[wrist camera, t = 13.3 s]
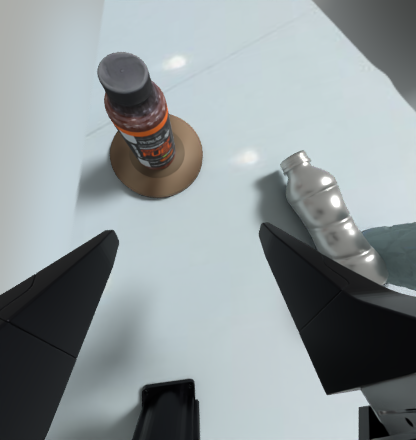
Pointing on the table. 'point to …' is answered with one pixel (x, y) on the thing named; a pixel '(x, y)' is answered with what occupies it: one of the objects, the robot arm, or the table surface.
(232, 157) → the table surface
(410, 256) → the grey-green cup
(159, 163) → the supplement bottle
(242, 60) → the table surface
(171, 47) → the table surface
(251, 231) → the table surface
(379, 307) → the robot arm
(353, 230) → the plastic bottle
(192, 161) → the disc
